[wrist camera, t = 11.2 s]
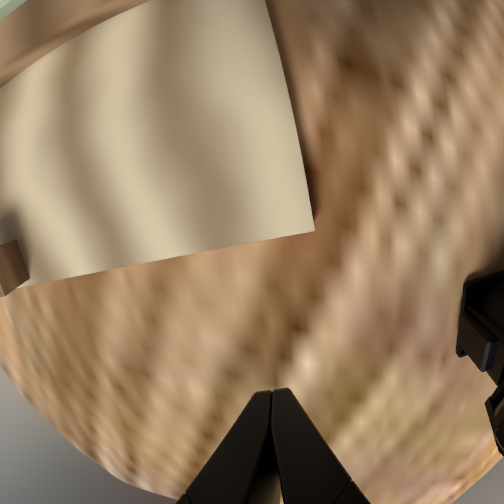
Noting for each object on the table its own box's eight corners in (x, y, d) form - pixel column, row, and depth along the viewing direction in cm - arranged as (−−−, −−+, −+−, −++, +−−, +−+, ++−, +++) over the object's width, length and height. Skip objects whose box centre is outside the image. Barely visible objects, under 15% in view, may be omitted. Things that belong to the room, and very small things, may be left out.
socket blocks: (81, -34, 12) (57, -52, 9) (85, 42, 14) (56, 29, 11) (-26, 40, 13) (-52, 35, 10) (-25, 113, 15) (-55, 114, 12)
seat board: (238, -77, 12) (232, -114, 8) (311, 225, 18) (324, 247, 14) (-27, 50, 14) (-60, 45, 10) (14, 284, 21) (-18, 306, 17)
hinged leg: (208, -61, 11) (196, -94, 8) (223, -17, 12) (213, -50, 9) (-7, 52, 13) (-40, 46, 10) (-4, 97, 14) (-40, 96, 11)
